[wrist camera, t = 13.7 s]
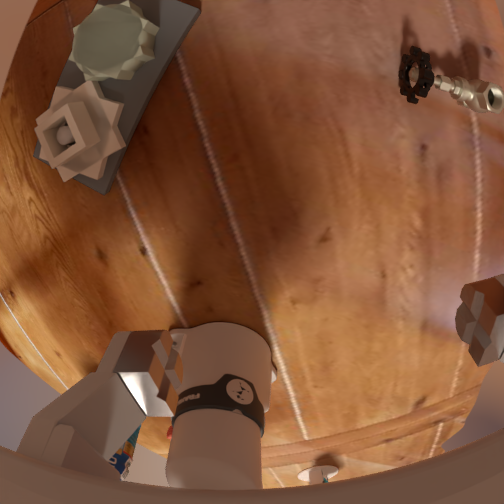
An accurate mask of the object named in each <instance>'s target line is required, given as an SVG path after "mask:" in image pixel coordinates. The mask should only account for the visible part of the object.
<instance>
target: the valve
mask: <svg viewBox="0 0 504 504" xmlns="http://www.w3.org/2000/svg"><path fill="white" fill-rule="evenodd" d="M410 54H411V55H406V54H404V55H403V57H402V62H403V63H404V64H405V66H404V70H400V71H399V75H398V76H399V79H402V80H403V86H401V88H400V93H401V95H404V96H407V101H408V102H409V103H414V104H417V103H418V100H419V99H417V98H415V94H416V95H417V96H420V97H424V98H426V97H427V94H428V92H429V90H430V87H431V86H432V85H433V84H434V85H435V88H436V89H439V90H442V91H449V93H450V94H451V97H452V98H453V99H455V100H457V104H458V105H461V106H464V107H466V108H470V109H471V110H473V111H475V112H478V113H486V112H488V111H489V112H491V113H496V114H499V113H500V112H501V111H502V109H503V107H504V93H503V91H502V88H501V87H500V86H498V85H496V84H494V83H491V82H484V81H482V80H479V79H472V80H470V81H467V80H466V79H465V78H462V77H460V76H455V77H454V78H453V79H451V80H450V78H449V77H446V76H443V75H437V76H436V77H435V76H434V73H433V72H432V70H431V69H432V67H431V64H430V62H429V60H430V55H429V54H428V53H425V52H422V51H421V49H420V48H418V47H414V46H411V48H410ZM414 62H417V64H418V68H416V67H412V65H413V63H414ZM425 64H426V67H425ZM411 67H412V68H411ZM410 80H411V81H413V82H416V85H415V86H414V87H413V88H412V87H411V85H410ZM423 86H424V87H425V88H423Z"/></svg>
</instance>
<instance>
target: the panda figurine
mask: <svg viewBox="0 0 504 504" xmlns="http://www.w3.org/2000/svg"><path fill="white" fill-rule="evenodd" d="M337 473H338V468H337V467H335V466H329V465H324V466H315V467H311V468H307V469H305V470H303V471H301V472H300V473H299V474H298V478H299V479H300V480H303V481H309V482H310V485H313V484H320V483H327V482H328V478H330V477H333V476H334V475H336V474H337Z"/></svg>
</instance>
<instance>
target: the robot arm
mask: <svg viewBox="0 0 504 504" xmlns="http://www.w3.org/2000/svg"><path fill="white" fill-rule="evenodd" d="M460 298H461V300H462V301H463V302H462V304H461V305H460V306H459V308H458V309H457V313H456V317H455V322H456V330H457V332H458V335H459V337H460V338H461V340H462V341H464V342H466V343H468V344H469V350H468V351H469V353H470V354H471V356H472V358H473V359H474V361H475V363H476V364H477V366H478V367H479V366H482V365H485V364H488V363H491V362H494V361H497V360H499V359H500V361H501V362H503V363H504V274H501V275H497V276H494V277H491V278H488V279H484V280H480V281H477V282H473V283H469V284H465V285H464V287H463V288H462V291H461V295H460ZM276 379H277V371H276V370H275V368H274V367H273V365H272V363H271V351H270V348H269V346H268V344H267V343H266V341H265V340H264V339H263V338H262V337H261V336H260V335H259V334H257V333H256V332H254V331H253V330H251V329H249V328H247V327H244V326H241V325H238V324H233V323H226V322H214V323H207V324H203V325H200V326H197V327H194V328H190V329H172V330H171V331H170V332H169V331H167V330H147V331H126V332H117V333H116V334H114V336H113V338H112V340H111V342H110V344H109V346H108V348H107V350H106V352H105V354H104V356H103V358H102V360H101V362H100V364H99V366H98V368H97V370H96V372H91V373H89V374H88V375H87V376H86V377H84V378H83V379H82V380H80V381H79V382H78V383H76V384H75V385H74V386H72V387H71V388H70V389H69V390H67V391H66V392H65V393H63V394H62V395H61V396H60V397H58V398H57V399H55V400H54V401H53V402H52V403H50V404H49V405H48V406H46V407H45V408H44V409H42V410H41V411H40V412H38V413H37V414H36V415H35V416H33V418H32V420H31V422H30V424H29V426H28V428H27V430H26V432H25V434H24V436H23V438H22V440H21V442H20V445H19V447H18V449H17V451H16V452H15V451H12V450H10V449H7V448H5V447H2V446H0V504H504V428H502V429H500V430H498V431H496V432H494V433H492V434H490V435H487V436H485V437H483V438H481V439H478V440H476V441H474V442H471V443H469V444H466V445H464V446H462V447H459V448H457V449H454V450H452V451H448V452H446V453H443V454H440V455H437V456H434V457H431V458H428V459H425V460H422V461H419V462H416V463H412V464H409V465H406V466H402V467H398V468H395V469H391V470H387V471H383V472H379V473H374V474H370V475H366V476H361V477H356V478H351V479H345V480H340V481H334V482H327V483H320V484H313V485H305V486H296V487H285V488H272V489H263V484H262V468H261V438H262V436H263V434H264V427H265V417H264V413H265V412H267V411H268V410H269V407H270V395H271V383H273V382H274V381H275V380H276ZM146 416H171V420H172V426H170V428H169V430H168V432H167V438H168V439H171V442H170V448H169V453H168V458H167V464H166V477H167V481H168V484H169V486H170V487H164V486H155V485H147V484H140V483H133V482H127V481H121V480H120V478H121V475H120V473H119V471H118V470H116V469H115V468H114V467H113V466H112V465H111V464H110V463H109V462H108V461H109V459H110V458H111V457H112V456H113V455H114V454H115V453H116V452H117V451H118V449H119V448H120V447H121V446H122V445H123V444H124V443H125V442H126V440H127V439H128V438H129V437H130V436H131V435H132V434H133V433H134V431H135V430H136V429H137V428H138V427H139V426H140V425H141V423H142V422H143V421H144V420H145V419H146Z"/></svg>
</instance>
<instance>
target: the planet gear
mask: <svg viewBox="0 0 504 504" xmlns="http://www.w3.org/2000/svg"><path fill="white" fill-rule="evenodd" d="M123 106H124V103H120V102H117V101H114V100H111V99H107V98H105V97H104V95H103V92H102V90H101V87H100V85H99V83H98V81H86V82H85V83H83V84H82V85H81V86H79V87H78V88H76V89H72V88H68V87H64V86H56V88H55V91H54V95H53V98H52V102H51V106H50V108H49V109H48V110H47V111H45V112H44V113H43V114H42V115H40V116H39V117H38V118H37V119H36V122H37V124H38V126H37V127H36V128H35V129H34V130H35V132H36V134H37V137H38V139H39V142H40V144H41V150H40V156H39V158H41V159H43V160H46V161H48V162H49V164H50V166H51V168H52V169H54V168H56V167H57V170H58V172H59V174H60V176H61V178H62V180H63V182H66V181H68V180H69V179H71V178H73V177H74V176H76V175H77V174H79V173H80V174H83V175H85V176H88V177H91V178H93V179H96V180H98V179H100V178H101V177H103V174H104V170H105V166H106V162H107V159H108V156H109V155H111V154H113V153H114V152H116V151H118V150H120V149H122V148H123V147H125V146H126V144H125V142H124V140H123V137H122V135H121V133H120V131H119V129H118V126H117V125H118V121H119V118H120V115H121V112H122V109H123ZM64 126H69V128H70V130H71V133H72V135H73V137H74V139H75V142H76V143H74V142H71V143H68V144H65V145H62V144H60V143H59V142H58V140H57V132H58V130H59V129H60V128H61V127H64Z"/></svg>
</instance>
